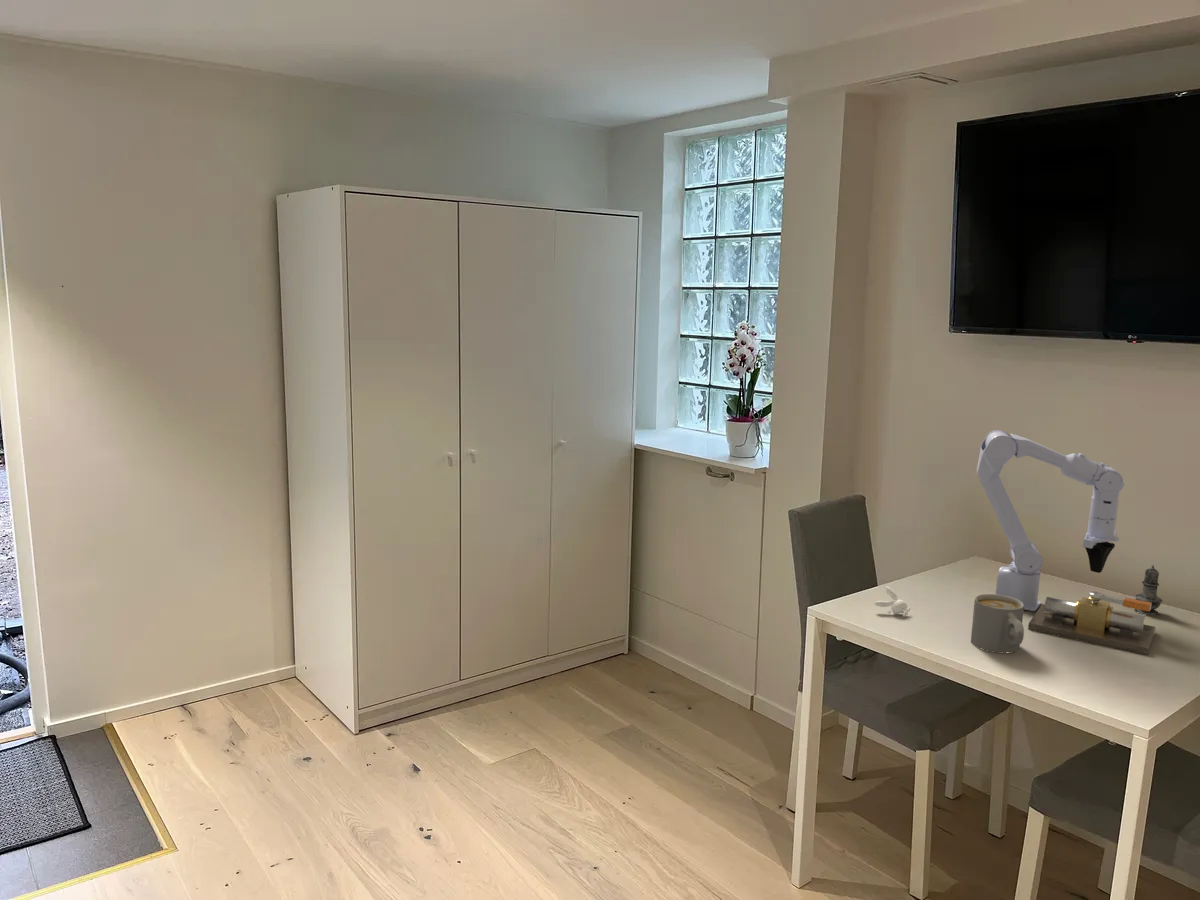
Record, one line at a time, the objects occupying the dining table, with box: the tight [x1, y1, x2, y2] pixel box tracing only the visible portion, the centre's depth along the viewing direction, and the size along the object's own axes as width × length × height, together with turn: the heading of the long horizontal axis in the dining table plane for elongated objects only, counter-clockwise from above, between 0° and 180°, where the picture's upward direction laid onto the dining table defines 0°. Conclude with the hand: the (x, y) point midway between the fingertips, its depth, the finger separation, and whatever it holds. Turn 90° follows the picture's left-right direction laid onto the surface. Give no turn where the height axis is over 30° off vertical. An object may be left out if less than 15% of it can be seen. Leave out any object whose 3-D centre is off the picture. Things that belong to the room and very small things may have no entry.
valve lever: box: [1088, 590, 1152, 611], centre depth 209 cm, size 12×3×2 cm, turn 51°
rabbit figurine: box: [874, 585, 911, 618], centre depth 222 cm, size 6×4×8 cm
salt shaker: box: [1134, 565, 1163, 616], centre depth 225 cm, size 6×6×12 cm
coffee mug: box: [970, 593, 1025, 654], centre depth 201 cm, size 13×10×10 cm
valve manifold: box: [1027, 596, 1156, 656], centre depth 212 cm, size 24×16×8 cm, turn 54°
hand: (1096, 571), depth 223 cm, fingers closed
